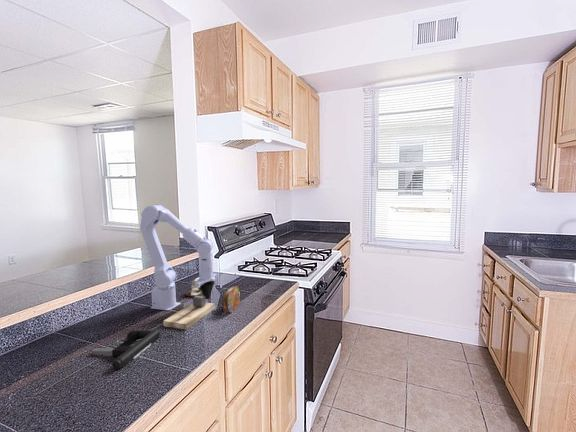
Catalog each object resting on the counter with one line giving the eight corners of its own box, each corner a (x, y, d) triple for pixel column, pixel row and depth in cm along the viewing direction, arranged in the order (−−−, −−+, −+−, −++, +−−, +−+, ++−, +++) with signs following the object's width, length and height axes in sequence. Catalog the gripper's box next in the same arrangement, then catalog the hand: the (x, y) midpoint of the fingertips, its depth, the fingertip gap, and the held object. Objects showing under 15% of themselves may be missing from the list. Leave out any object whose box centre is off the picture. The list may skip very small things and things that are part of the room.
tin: (228, 316, 123) (228, 295, 122) (221, 315, 124) (220, 295, 123) (241, 301, 138) (241, 283, 137) (235, 301, 138) (234, 283, 137)
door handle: (75, 358, 90) (123, 360, 87) (123, 327, 110) (164, 328, 107) (76, 369, 90) (124, 371, 87) (124, 336, 110) (165, 337, 107)
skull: (204, 297, 141) (190, 280, 142) (191, 310, 144) (177, 293, 145) (217, 288, 152) (204, 272, 153) (205, 299, 155) (192, 284, 156)
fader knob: (193, 305, 127) (192, 297, 127) (197, 303, 130) (196, 295, 130) (201, 306, 126) (201, 298, 126) (205, 304, 129) (205, 295, 129)
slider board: (163, 326, 115) (163, 320, 115) (194, 305, 134) (194, 301, 134) (186, 329, 112) (186, 324, 112) (215, 308, 131) (215, 303, 131)
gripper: (204, 273, 124) (206, 305, 126) (222, 264, 138) (223, 293, 140) (189, 272, 126) (191, 303, 128) (208, 263, 140) (209, 292, 142)
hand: (207, 298), depth 134 cm, fingers closed
